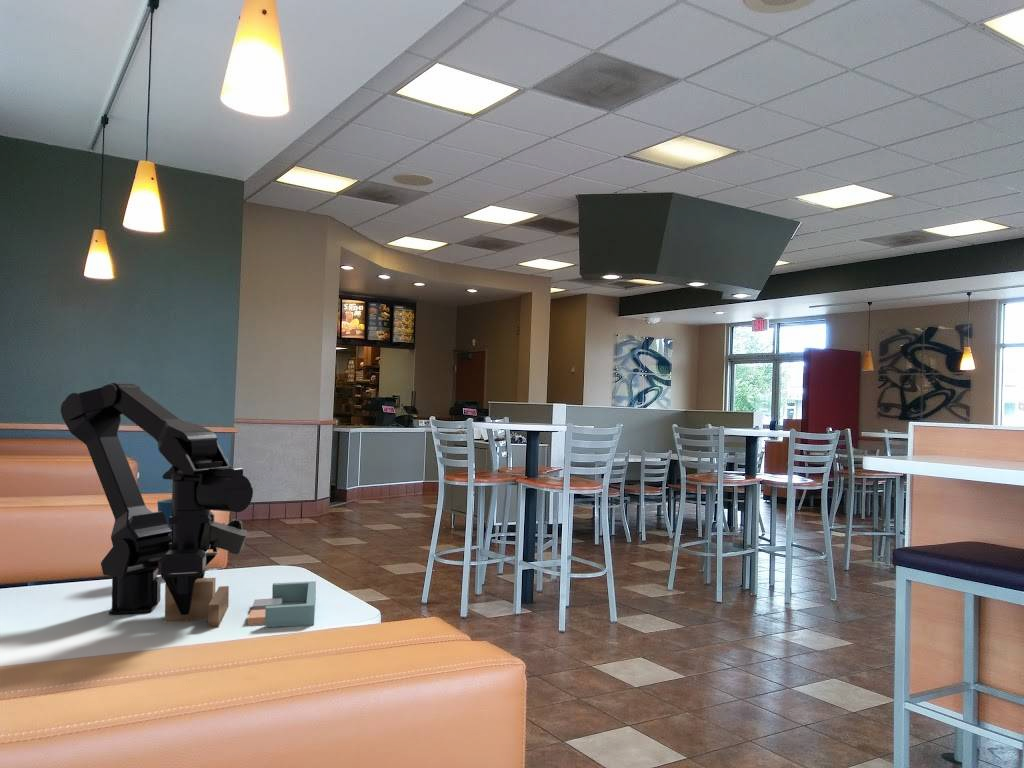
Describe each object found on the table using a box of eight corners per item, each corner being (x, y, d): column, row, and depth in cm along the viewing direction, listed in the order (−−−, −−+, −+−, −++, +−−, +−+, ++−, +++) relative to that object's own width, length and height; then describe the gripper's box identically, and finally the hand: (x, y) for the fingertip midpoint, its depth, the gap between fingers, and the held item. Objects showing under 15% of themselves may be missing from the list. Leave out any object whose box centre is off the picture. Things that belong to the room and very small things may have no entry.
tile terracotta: (247, 627, 119) (247, 618, 119) (250, 619, 123) (251, 610, 123) (278, 626, 120) (278, 616, 120) (280, 617, 124) (280, 608, 124)
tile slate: (252, 615, 126) (252, 606, 126) (254, 608, 130) (254, 599, 130) (281, 613, 127) (281, 604, 127) (282, 606, 131) (282, 597, 131)
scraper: (158, 631, 116) (159, 591, 116) (174, 610, 127) (174, 573, 128) (218, 627, 118) (218, 588, 118) (228, 606, 129) (228, 571, 130)
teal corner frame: (265, 627, 117) (265, 608, 117) (272, 600, 133) (273, 583, 133) (313, 624, 119) (314, 605, 119) (315, 598, 135) (315, 581, 135)
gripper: (237, 515, 116) (236, 619, 115) (250, 499, 134) (249, 589, 133) (157, 517, 113) (156, 624, 113) (181, 501, 131) (180, 593, 131)
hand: (190, 606), depth 122 cm, fingers open, 9 cm apart
